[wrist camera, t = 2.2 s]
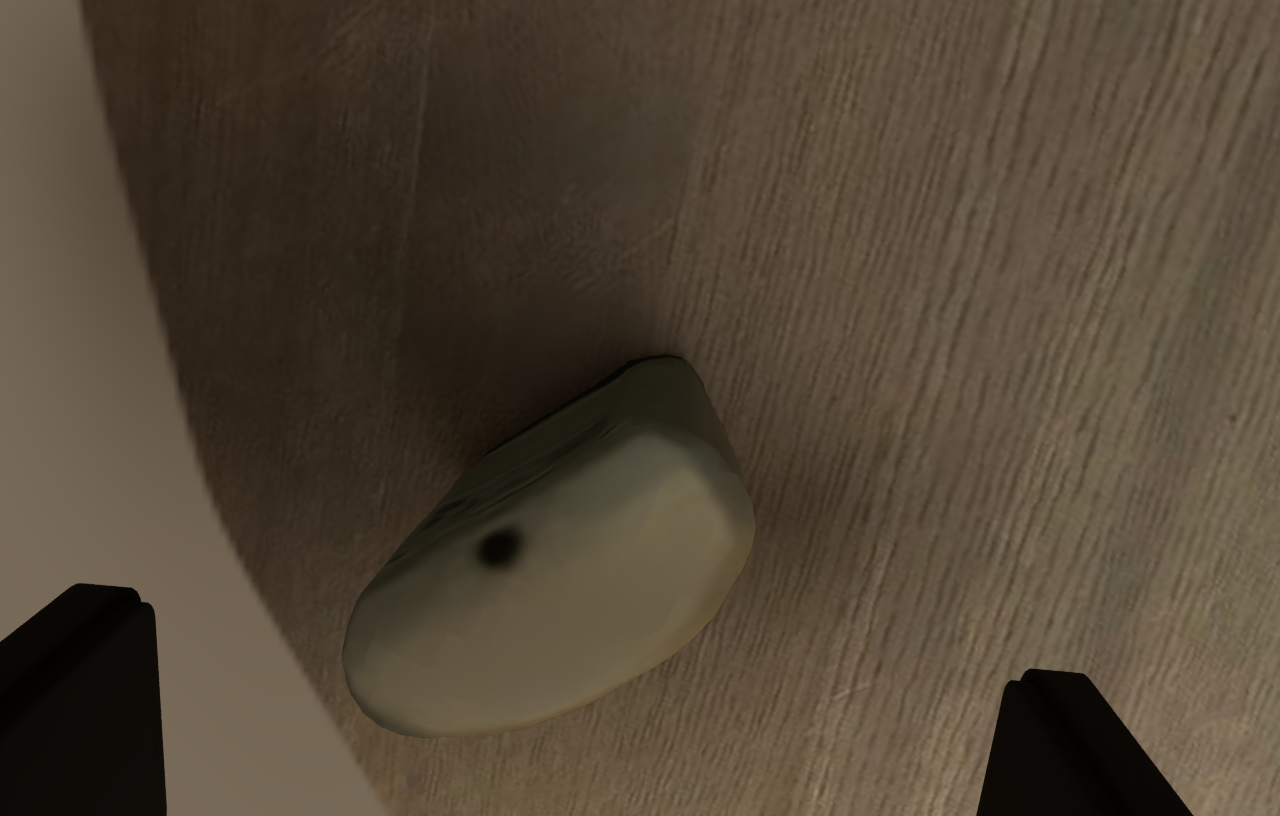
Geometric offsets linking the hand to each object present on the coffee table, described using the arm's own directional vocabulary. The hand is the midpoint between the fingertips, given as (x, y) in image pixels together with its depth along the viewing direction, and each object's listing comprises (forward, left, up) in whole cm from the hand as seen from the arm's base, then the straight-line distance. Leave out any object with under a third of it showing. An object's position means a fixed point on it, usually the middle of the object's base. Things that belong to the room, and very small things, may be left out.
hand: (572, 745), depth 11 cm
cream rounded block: (0, 0, -10) cm, 10 cm away
